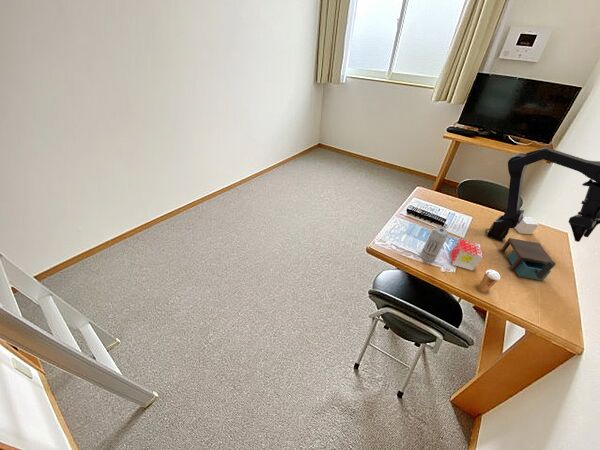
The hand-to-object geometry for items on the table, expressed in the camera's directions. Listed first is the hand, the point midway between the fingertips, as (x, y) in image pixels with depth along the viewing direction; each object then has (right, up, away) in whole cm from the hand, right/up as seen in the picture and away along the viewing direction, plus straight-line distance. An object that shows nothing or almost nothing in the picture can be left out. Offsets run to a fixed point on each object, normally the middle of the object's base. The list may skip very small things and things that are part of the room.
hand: (581, 239), depth 104 cm
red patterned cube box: (-40, -10, +10) cm, 43 cm away
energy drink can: (-55, -9, +10) cm, 56 cm away
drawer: (-15, -14, +8) cm, 22 cm away
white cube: (+2, +3, +31) cm, 31 cm away
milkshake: (-39, -19, -1) cm, 44 cm away
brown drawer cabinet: (-14, -11, +12) cm, 21 cm away
